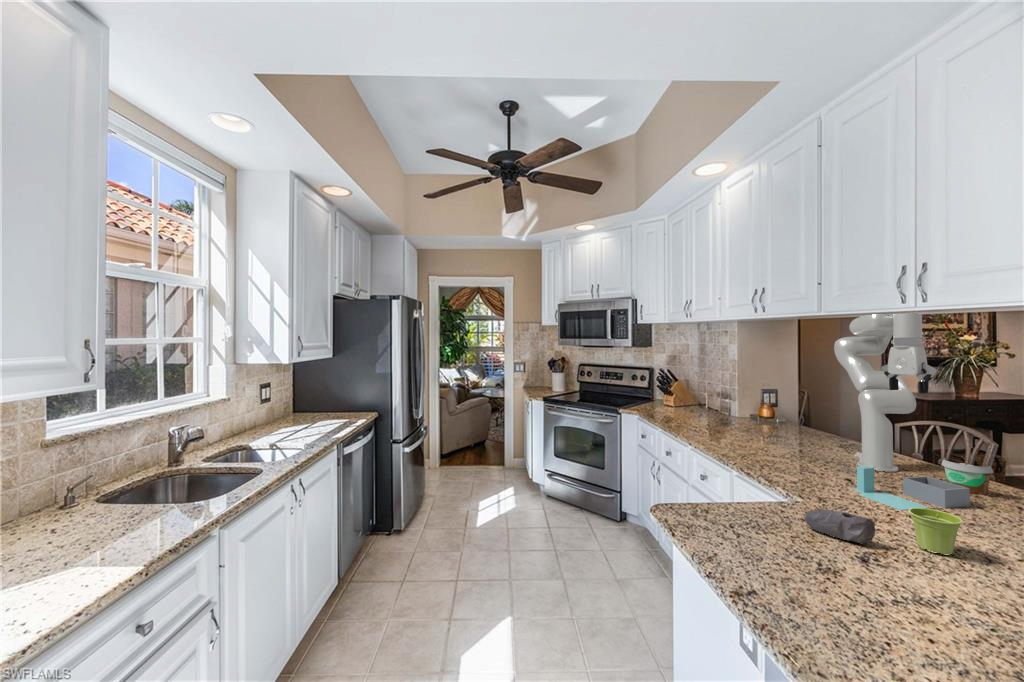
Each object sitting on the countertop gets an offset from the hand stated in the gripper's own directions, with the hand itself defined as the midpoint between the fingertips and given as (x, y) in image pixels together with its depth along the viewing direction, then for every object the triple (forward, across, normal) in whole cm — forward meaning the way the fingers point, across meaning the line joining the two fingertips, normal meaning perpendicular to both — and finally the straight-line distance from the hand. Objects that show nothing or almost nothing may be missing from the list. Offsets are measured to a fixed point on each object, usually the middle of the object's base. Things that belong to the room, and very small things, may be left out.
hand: (908, 391), depth 151 cm
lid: (+33, +10, -22) cm, 41 cm away
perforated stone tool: (+34, +30, -60) cm, 75 cm away
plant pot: (+34, +40, -43) cm, 68 cm away
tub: (+33, +14, -8) cm, 37 cm away
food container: (+34, +9, +10) cm, 36 cm away
